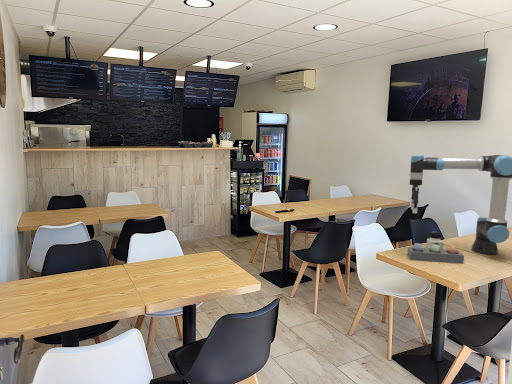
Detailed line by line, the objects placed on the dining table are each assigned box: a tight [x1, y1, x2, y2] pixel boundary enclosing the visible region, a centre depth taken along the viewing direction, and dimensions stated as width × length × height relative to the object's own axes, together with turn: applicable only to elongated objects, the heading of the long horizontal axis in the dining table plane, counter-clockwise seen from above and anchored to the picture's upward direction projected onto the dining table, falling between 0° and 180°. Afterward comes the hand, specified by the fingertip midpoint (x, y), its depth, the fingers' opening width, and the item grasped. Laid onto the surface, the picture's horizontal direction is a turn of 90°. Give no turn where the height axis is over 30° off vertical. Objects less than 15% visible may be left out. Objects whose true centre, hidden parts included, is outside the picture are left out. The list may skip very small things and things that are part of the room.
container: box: [425, 231, 444, 250], centre depth 253 cm, size 8×8×13 cm
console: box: [407, 246, 465, 265], centre depth 237 cm, size 30×11×5 cm, turn 77°
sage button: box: [431, 244, 440, 253], centre depth 236 cm, size 5×5×5 cm
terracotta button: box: [447, 244, 458, 254], centre depth 234 cm, size 5×5×5 cm
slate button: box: [413, 242, 423, 252], centre depth 238 cm, size 5×5×5 cm
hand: (413, 211), depth 247 cm, fingers open, 13 cm apart
